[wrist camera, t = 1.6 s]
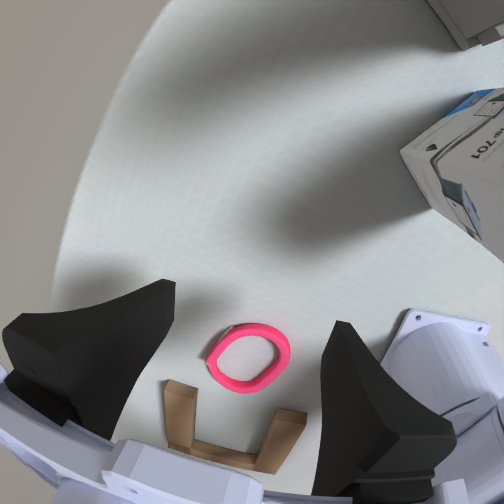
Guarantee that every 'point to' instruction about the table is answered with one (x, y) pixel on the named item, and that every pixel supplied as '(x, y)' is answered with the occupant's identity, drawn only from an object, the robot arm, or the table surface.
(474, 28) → the tall grey pillar
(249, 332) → the fitness band
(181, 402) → the notched board
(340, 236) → the table surface
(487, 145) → the ink box
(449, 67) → the table surface
